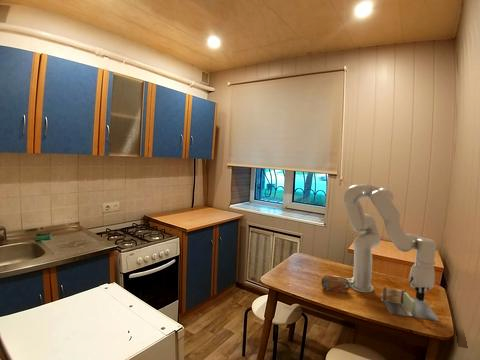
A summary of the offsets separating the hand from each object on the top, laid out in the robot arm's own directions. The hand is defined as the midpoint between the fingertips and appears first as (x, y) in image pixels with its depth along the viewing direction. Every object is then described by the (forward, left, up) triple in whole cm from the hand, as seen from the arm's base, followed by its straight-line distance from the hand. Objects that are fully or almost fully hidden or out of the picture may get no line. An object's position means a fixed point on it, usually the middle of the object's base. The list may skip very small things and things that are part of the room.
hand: (419, 299), depth 132 cm
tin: (-39, +9, -6) cm, 40 cm away
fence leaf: (-5, -1, -5) cm, 7 cm away
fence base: (-5, +2, -6) cm, 8 cm away
